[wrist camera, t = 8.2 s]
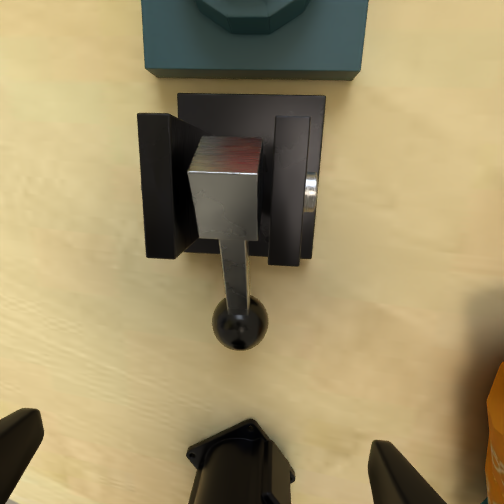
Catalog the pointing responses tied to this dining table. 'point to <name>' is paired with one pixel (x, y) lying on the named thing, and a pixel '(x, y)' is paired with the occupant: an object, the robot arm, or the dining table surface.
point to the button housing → (254, 38)
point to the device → (495, 441)
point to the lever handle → (231, 228)
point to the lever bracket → (274, 170)
